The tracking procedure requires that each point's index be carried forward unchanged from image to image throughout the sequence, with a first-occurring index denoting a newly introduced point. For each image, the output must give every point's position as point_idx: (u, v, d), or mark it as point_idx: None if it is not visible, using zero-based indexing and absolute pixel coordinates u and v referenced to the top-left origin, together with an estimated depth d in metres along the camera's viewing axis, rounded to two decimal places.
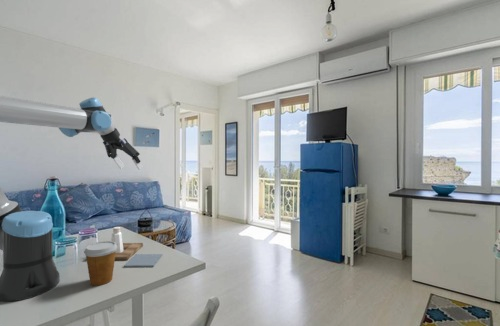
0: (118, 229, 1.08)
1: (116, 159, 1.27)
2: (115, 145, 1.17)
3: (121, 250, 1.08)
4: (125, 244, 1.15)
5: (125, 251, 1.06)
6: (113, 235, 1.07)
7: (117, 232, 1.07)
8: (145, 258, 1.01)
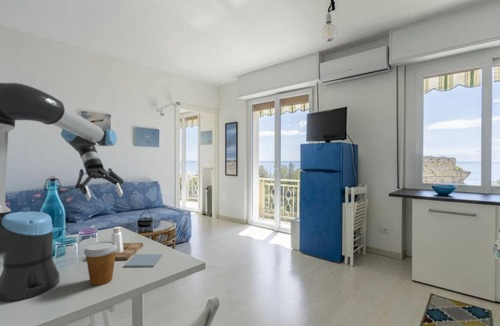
0: (118, 229, 1.08)
1: None
2: (102, 170, 1.22)
3: (121, 250, 1.08)
4: (125, 244, 1.15)
5: (125, 251, 1.06)
6: (113, 235, 1.07)
7: (117, 232, 1.07)
8: (145, 258, 1.01)
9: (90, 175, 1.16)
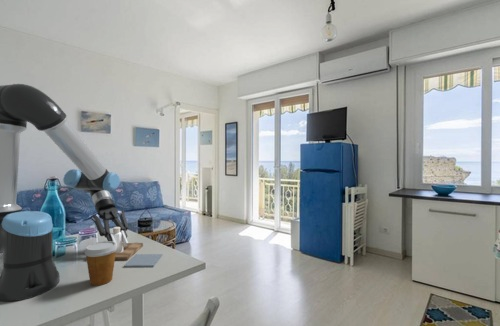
0: (118, 229, 1.08)
1: None
2: (114, 211, 1.14)
3: (121, 250, 1.08)
4: None
5: (125, 251, 1.06)
6: (113, 235, 1.07)
7: (117, 232, 1.07)
8: (145, 258, 1.01)
9: (107, 219, 1.10)
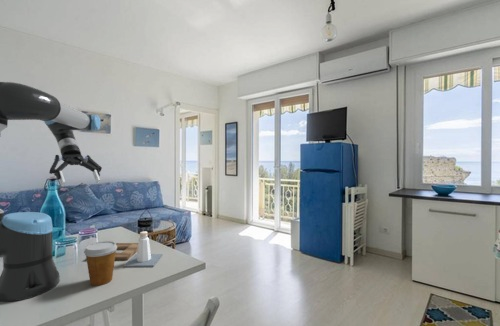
0: (145, 234, 0.99)
1: None
2: (79, 156, 1.19)
3: (149, 256, 1.00)
4: (125, 244, 1.15)
5: (125, 251, 1.06)
6: (140, 240, 0.98)
7: (144, 237, 0.99)
8: None
9: (66, 161, 1.13)
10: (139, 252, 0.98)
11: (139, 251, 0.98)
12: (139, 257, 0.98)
